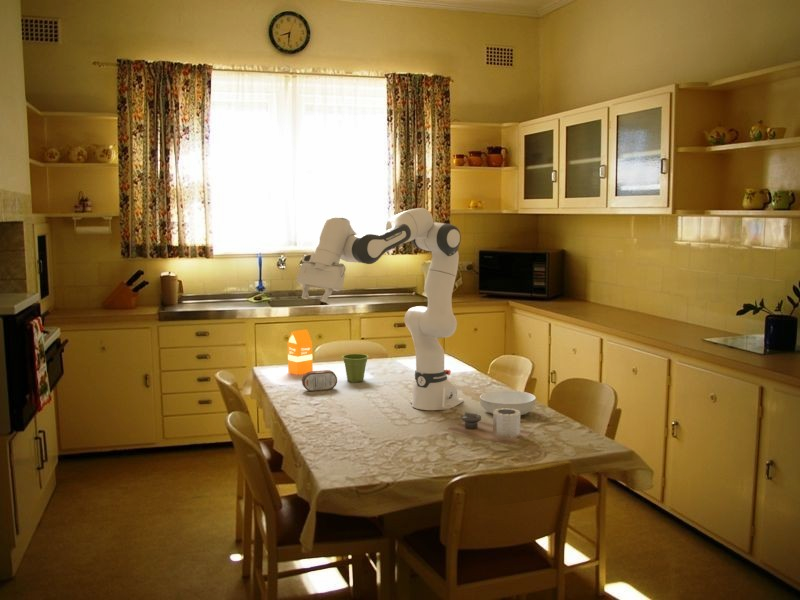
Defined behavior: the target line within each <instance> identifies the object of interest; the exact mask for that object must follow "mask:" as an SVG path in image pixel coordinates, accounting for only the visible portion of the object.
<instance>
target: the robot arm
mask: <svg viewBox="0 0 800 600" xmlns="http://www.w3.org/2000/svg"><path fill="white" fill-rule="evenodd" d="M461 237H462V236H461V232H460V229H459V227H457V226H455V225H453V224H451V223H443V222H437V221H436V222H434V217H433V215H432V213H431V212H430V211H429V210H428V209H427V208H424V207H418V208H417V207H416V208H412V209H408V210H404V211H402V212H399V213H396V214H395V215H393V216H391V217H390V218H389V219H388V220H387V221H386V224H385V231H384V232H382V233H380V234H372V233H369V234H358V233H356V232H355V230H354V229H353V228H352V226H351V223H350V220H349V219H348V218H345V217H341V216H332V217H329V218H327V220H326V221H325V223H324V225H323V227H322V230H321V233H320V235H319V243H318V245H317V247H316V248H315V252H312V253H309V254H306V255H304V256H303V257H302V263H301V265H300V267H299V269H298V271H297V272H298V273H297V276H296V283H297V284H299V285H301V290H302V294H301V298H302V299H305V300H308V299H309V298H310V297H309V296H310V294H309V290H310V288H316V289H321V290H323V289H324V293H323V295H320V298H319V301H320V302H321V303H327V301H328V298H329V297H330V296H331V295H332V293H333V291H335V292H340V291H341V290H342V289H343V285H344V282H345V276H346V273H345V272H346V270H347V269H346V266H345V265H344V263H340V261H341V260H342V261H345V262H349V263H359V264H360V263H361V264H365V265H372V264H375V263H376V262H377V261H379V259H380V258H381V257H383V255H384V254H385V253H386V252H388V251H390V250H393V249H394V248H396V247H399V246H400V245H402V244H406V243H409V242H411V244H412V246H413V247H415V248H416V249H417V250H421V251H428V252H431V260H430V264H429V266H428V271H427V275H426V279H425V282H424V286H423V291H424V293H425V295H426V297H427V306H424V305H418V306H417V305H416V306H412V307H409V309H408V310H407V311H406V312H405V314H404V317H403V318H404V319H403V320H404V325H405V326H406V328H407V329H408V331H409V334H411V338H412V340H413V345H414V349H415V350H414V351H415V371H414V380H415V382H413V389H412V399H411V400H410V403H411V407H413V408H415V409H417V410H422V411H442V410H444V411H447V410H449V409H451V408H454V407H457V406H458V405H461V403H463V402H464V398H462V397H461V396H458V387H456V385H455V384H454V383H452V381H450V380H449V379H448V376H450V375H451V373H452V370H450V369H445V350H444V348H443V347H442V346H441V344H440V341H439V339H441V338H442V339H444V338H449V337H452V336H453V335H454V334H455V332H456V330H457V327H458V326H457V325H458V321H457V318H456V316H455V314H454V311H453V305H452V298H453V297H452V296H453V291H454V287H455V283H456V279H457V274H458V269H459V261H460V259H459V257H460V255H459V251H458V250H459V247H460V246H461V239H462V238H461ZM447 375H448V376H447Z"/></svg>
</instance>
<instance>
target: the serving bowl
mask: <svg viewBox="0 0 800 600" xmlns="http://www.w3.org/2000/svg"><path fill="white" fill-rule="evenodd" d="M536 400H537V397H536V395H535V394H532V393H529V392H528V391H527V392H526V391H520V390H508V389H507V390H505V389H504V390H494V391H493V390H492V391H487V392H484V393H482V394H480V395H479V401H480V404H481V407H482V408H483V410H485V411H486V412H487V413H489V414H492V415H493V410H495V409H500V408H511V409H517V410H519V411H520V416H524V415H527V414H528V413H530V412H531V411H532V410H533V409H534V408H535V405H536Z"/></svg>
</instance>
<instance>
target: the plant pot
mask: <svg viewBox="0 0 800 600" xmlns="http://www.w3.org/2000/svg"><path fill="white" fill-rule="evenodd" d="M341 357H342V359H343V363H344V367H345V374H346V379H347V381H348V382H350V381H351V382H350V383H359V382H361V381H362V382H363V381H364V380H365V373H366V372H365V371H366V366H367V363H368V358H369V357H370V356H369V355H368V354H365V353H350V354H349V353H348V354H344V355H342V356H341Z"/></svg>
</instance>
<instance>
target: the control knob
mask: <svg viewBox="0 0 800 600" xmlns="http://www.w3.org/2000/svg"><path fill="white" fill-rule="evenodd" d="M481 420H482V416H481V415H480V414H478V413H474V412H469V411H465V414H462V415H461V421H462V422H464V421H465V428H466V429H470V430H473V429H477V428H478V421H479V422H481Z"/></svg>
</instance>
